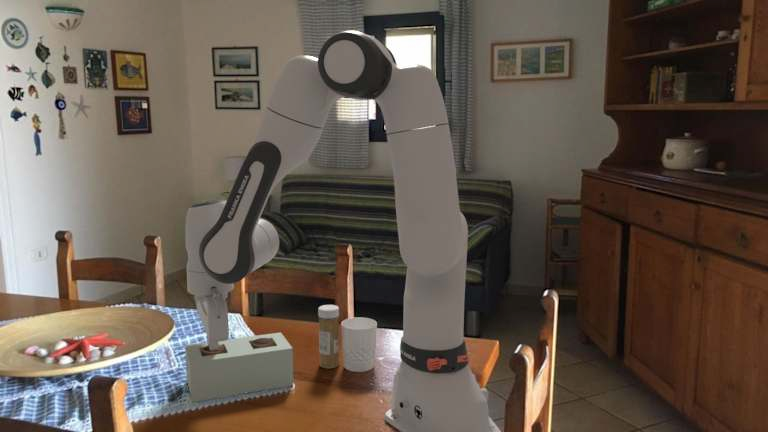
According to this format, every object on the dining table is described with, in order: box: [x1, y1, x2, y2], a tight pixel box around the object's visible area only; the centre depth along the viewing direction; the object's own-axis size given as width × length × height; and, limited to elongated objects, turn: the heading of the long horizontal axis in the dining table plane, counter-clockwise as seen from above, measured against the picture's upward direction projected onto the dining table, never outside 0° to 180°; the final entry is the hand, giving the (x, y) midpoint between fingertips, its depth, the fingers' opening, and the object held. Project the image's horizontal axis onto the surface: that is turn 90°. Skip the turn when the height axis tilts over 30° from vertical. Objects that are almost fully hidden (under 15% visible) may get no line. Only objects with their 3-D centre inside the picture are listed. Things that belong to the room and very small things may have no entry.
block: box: [184, 331, 294, 403], centre depth 125 cm, size 10×20×8 cm, turn 113°
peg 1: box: [203, 345, 224, 356], centre depth 123 cm, size 4×4×7 cm
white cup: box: [340, 316, 378, 373], centre depth 134 cm, size 8×8×10 cm
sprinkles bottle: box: [317, 304, 340, 369], centre depth 134 cm, size 5×5×14 cm
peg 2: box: [253, 338, 273, 349], centre depth 127 cm, size 4×4×7 cm
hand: (213, 347), depth 122 cm, fingers closed, pressing on peg 1
